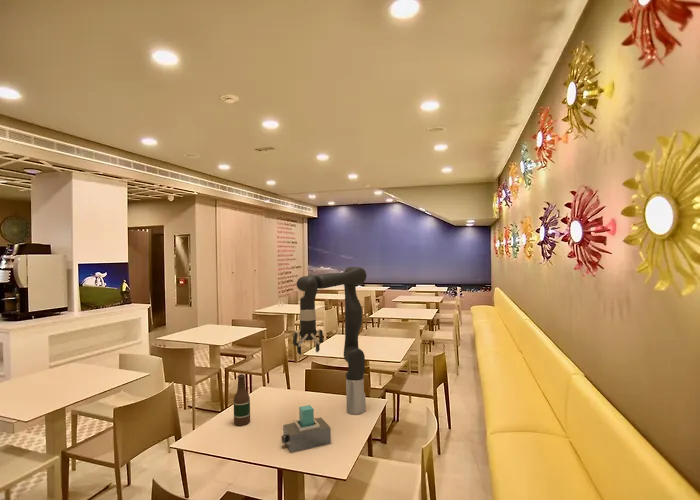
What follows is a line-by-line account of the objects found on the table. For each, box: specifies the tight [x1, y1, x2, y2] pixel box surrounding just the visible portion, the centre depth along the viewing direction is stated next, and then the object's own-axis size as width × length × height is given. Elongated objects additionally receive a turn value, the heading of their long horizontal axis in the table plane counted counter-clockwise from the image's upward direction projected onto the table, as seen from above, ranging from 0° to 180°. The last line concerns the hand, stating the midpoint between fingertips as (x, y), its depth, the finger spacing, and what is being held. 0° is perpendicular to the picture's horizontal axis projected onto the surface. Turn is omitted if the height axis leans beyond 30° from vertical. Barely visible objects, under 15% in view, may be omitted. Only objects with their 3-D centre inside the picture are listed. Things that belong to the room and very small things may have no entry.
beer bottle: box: [233, 373, 251, 427], centre depth 194 cm, size 8×8×24 cm
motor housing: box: [280, 417, 332, 454], centre depth 173 cm, size 20×12×8 cm, turn 114°
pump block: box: [298, 404, 315, 427], centre depth 173 cm, size 5×5×8 cm
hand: (308, 353), depth 186 cm, fingers open, 8 cm apart
